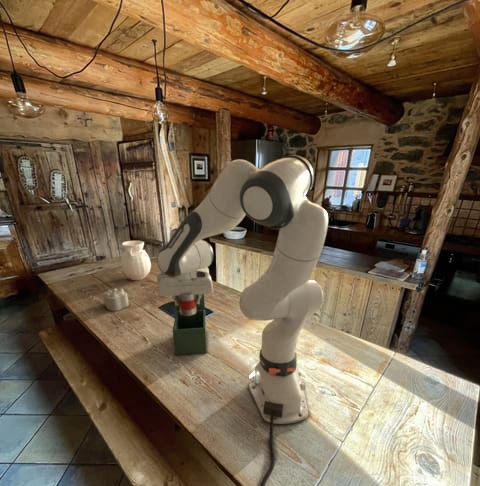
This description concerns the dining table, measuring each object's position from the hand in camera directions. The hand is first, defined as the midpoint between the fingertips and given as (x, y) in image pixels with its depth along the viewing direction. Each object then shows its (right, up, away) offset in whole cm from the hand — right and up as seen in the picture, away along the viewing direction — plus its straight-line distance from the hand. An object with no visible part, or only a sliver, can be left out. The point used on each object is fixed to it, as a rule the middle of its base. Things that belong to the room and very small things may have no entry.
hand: (187, 304), depth 104 cm
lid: (-1, +3, +8) cm, 9 cm away
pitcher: (-50, +13, +81) cm, 97 cm away
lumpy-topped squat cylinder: (-48, -3, +44) cm, 65 cm away
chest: (0, -18, +12) cm, 21 cm away
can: (0, -3, +2) cm, 4 cm away
